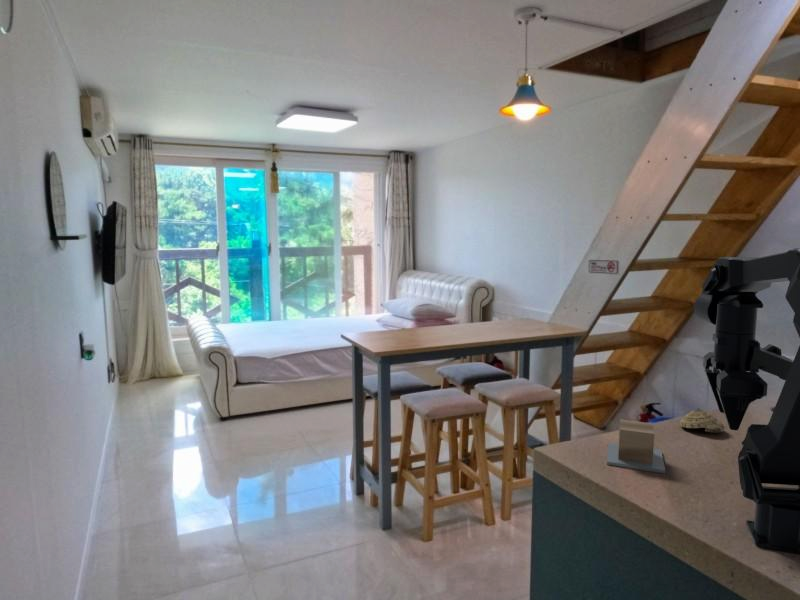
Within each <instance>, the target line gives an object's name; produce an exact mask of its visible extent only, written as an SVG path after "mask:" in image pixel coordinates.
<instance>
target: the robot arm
mask: <svg viewBox="0 0 800 600" xmlns="http://www.w3.org/2000/svg"><path fill="white" fill-rule="evenodd" d="M781 282H789V284H788V287H787V290H786V293H785V295H784V297H785V299H786V301H787V303H788V304H789V306H790V308H791V310H792V311H793V313H794V315H793V319H792V320H793V321H792V323H793V326H794V328H795V330H796V333H797V335H798V337H799V338H800V247H794V248H793V249H789V250H788V251H785V252H780V253H774V254H770V255H764V256H761V257H759V256H753V257H752V256H751V257H750V256H747V257H745V256H744V257H743V256H731V257H730V256H720V257H718V258H717V260H716V261H715V263H714V264H713V265H712V267H711V269H710V271H709V273H708V275H707V277H706V278H705V280H704V282H703V283H702V285H701V288H702V290H701V292H702V294H700V295H698V297H697V298H696V299H695V301H694V303H693V311H694V315H696V317H697V318H698V319H699V320H700V321H701V320H702V321H703V322H706V323H709V324H711V325H713V326H715V333H713V334H712V341H713V342H714V346H713V348H714V349H713V351H709V352H708V353H706V354H705V355H703V363H702V366H703V369H704V372H705V375H706V378H707V381H708V383H709V385H710V389H711V392H712V394H713V397H714V399H715V402H716V405H717V408H718V410H719V412H720V413H723V414H724V415H725V416H724V417H725V418H726V421H727V425H728V427H729V429H730V430H731V431H738V430H739V428H740V426H741V424H742V421H743V419H744V417H745V415H746V412H747V410H748V408H749V406H750V405H751V403H753V402H755V401H757V400H762V399H763V398H764V397H767V395H768V385H769V384H768V382H766V381H765V380H764V379H763V378H762V377H761V376H760V375H759V372H760V370H761V371H763V372H766V373H768V374H771V375H774V376H776V377H778V378H779V379H781V380H782V381H785V382H784V383H783V385H782V389H781V392H780V394H779V395H778V398H777V401H776V404H775V406H774V408H773V411H772V414H771V417H770V419H769V422H768V423H767V424H761V423H759V424H758V423H757V424H756V423H752V424H750V426H748V427H747V430H746V435H745V437H744V439H743V440H742V441H741V445H742V447H741V450H739V453H738V456H737V464H738V473H739V474H738V476H739V484H740V489H741V491H742V497H744V498H746V499H749V500H751V501H753V502H754V503H755V504H754V505H755V506H754V516H753V519H754V520H746V522H745V525H746V526H747V529H748V531H749V533H750V535H751V538H752V540H753V542H754V544H755V545H756V546H757V547H761V548H767V549H771V550H778V551H783V552H788V553H792V554H799V555H800V345H799V346H798V348H797V351H796V354H795V357H794V358H793V360H792V359H790V358H788V357H787V356H785V355H782V349H781V348H780V347H779V346H776V345H773V344H771V343H770V344H769V343H768V344H767V345H766V346H764V347H761V343H760V342H759V341H758V340H757V339H756V334H757V333H756V331H757V322H758V321H757V320H758V310H759V309H763V308H764V304H763V301H762V300H761V299H759V297H758V296H757V294H758V293H759V292H762V291H764V290H767V289H769V288H771V286H772V284H774V283H781ZM763 484H769V485H784V486H797V487H795V488H794V487H783V486H782V487H780V486H765V485H763Z"/></svg>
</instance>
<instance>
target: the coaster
mask: <svg viewBox="0 0 800 600" xmlns="http://www.w3.org/2000/svg"><path fill="white" fill-rule="evenodd" d="M618 449H619V443H613V442H607V455H606V456H607V459H606V460H607V461H606V465H607V466H614V467H623V468H627V469H635V470H640V471H641V470H642V471H646V472H647V471H648V472H655V473H659V474H660V473H661V474H666V466H665V463H664V457H663V453H662V449H657V448H653V464H647V463H641V462H634V461H627V460H621V459H618Z"/></svg>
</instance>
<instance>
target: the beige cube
mask: <svg viewBox="0 0 800 600" xmlns="http://www.w3.org/2000/svg"><path fill="white" fill-rule="evenodd" d="M618 431H619V432H618V444H619V449H618V459H621V460H627V461H634V462H641V463H647V464H653V449H655V448H654V446H655V445H654V444H655V430H654V425H653V423H652V422H644V421H635V420H627V419H619V430H618Z"/></svg>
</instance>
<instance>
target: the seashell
mask: <svg viewBox="0 0 800 600" xmlns="http://www.w3.org/2000/svg"><path fill="white" fill-rule="evenodd" d="M679 425H680V426H681V427H683V428H687V429H702V428H703V429H705V430H704V432H706V433H710V434H711V433H713V434H714V433H721V432H722V433H723V432H724V431H725V430H726V427H725V425H724V423H722V421H721V420H719V419H717V418H716V417H715V416H714V415H712V414H711V413H709V412H707V411H705V410H703V409H701V408H695V409H694V410H691V411H690V412H688V413H687V414H685V415H684V417H682V419H681V420H680V422H679Z"/></svg>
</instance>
